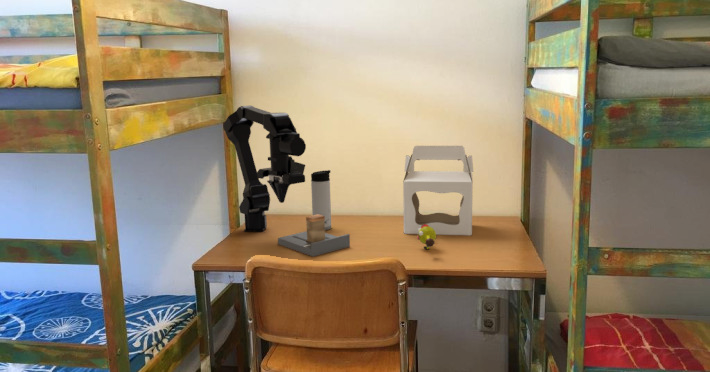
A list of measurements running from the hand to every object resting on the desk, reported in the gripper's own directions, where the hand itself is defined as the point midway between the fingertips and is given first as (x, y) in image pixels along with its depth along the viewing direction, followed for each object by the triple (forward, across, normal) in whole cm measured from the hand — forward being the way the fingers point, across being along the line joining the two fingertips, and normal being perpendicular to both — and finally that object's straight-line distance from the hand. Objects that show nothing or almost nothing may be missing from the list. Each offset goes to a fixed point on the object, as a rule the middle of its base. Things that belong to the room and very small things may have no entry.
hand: (281, 202), depth 188 cm
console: (+12, -12, -3) cm, 18 cm away
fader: (+10, -17, 0) cm, 20 cm away
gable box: (+12, -27, -43) cm, 53 cm away
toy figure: (+12, -40, -24) cm, 48 cm away
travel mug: (+12, +2, -17) cm, 21 cm away
